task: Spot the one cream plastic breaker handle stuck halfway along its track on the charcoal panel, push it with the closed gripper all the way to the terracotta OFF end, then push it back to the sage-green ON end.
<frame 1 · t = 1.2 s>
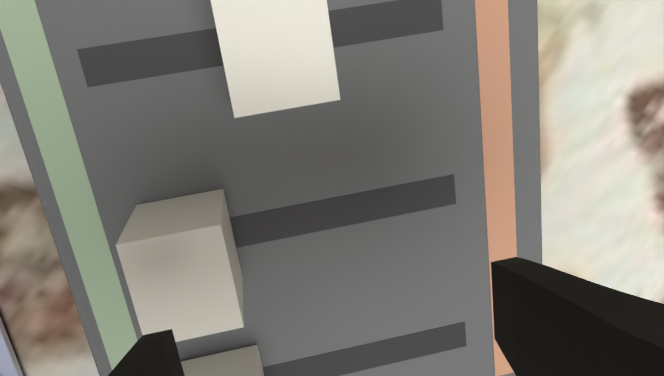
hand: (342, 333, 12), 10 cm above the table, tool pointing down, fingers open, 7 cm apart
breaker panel: (305, 188, 22), on the table
handle middle: (187, 262, 18), point 4 cm above the table, slide at 0.0 cm
tripped handle: (272, 41, 16), point 4 cm above the table, slide at 4.0 cm
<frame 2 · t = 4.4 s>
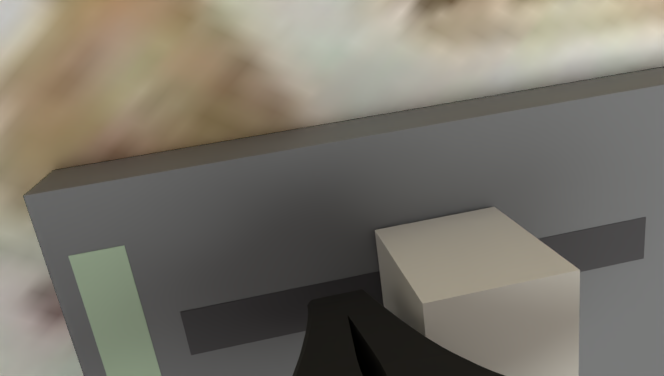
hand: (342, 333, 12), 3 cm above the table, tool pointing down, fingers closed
tripped handle: (468, 319, 12), point 4 cm above the table, slide at 4.3 cm, touching gripper
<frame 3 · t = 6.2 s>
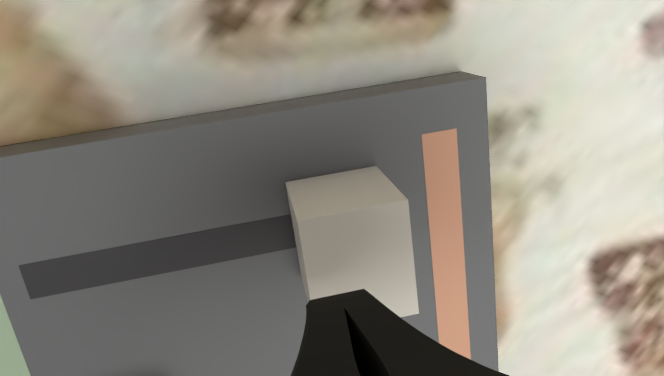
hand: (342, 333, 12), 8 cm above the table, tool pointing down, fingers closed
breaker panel: (261, 359, 22), on the table
tripped handle: (348, 244, 17), point 4 cm above the table, slide at 8.1 cm
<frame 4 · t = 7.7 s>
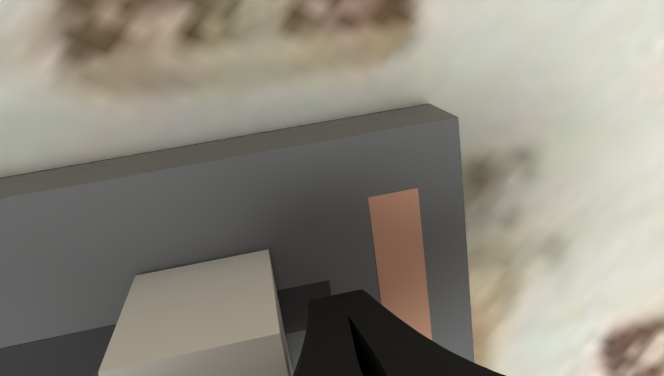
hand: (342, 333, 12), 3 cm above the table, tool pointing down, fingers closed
tripped handle: (216, 374, 11), point 4 cm above the table, slide at 7.2 cm, touching gripper
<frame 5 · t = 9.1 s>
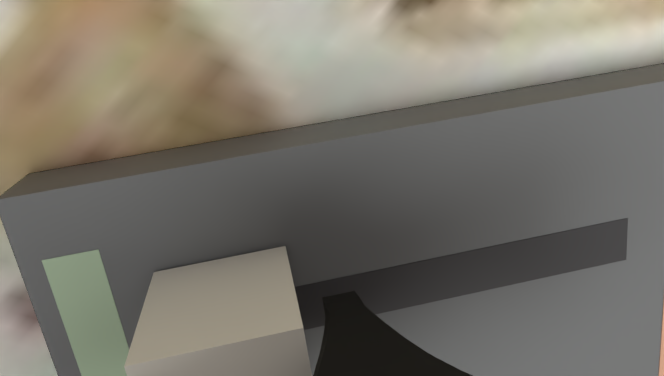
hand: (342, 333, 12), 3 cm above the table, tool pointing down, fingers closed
tripped handle: (235, 369, 11), point 4 cm above the table, slide at -0.3 cm, touching gripper
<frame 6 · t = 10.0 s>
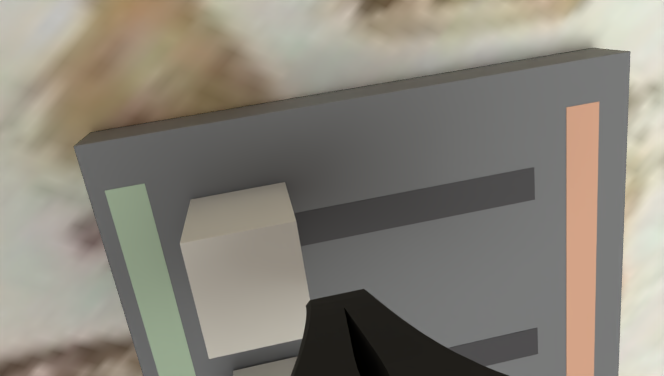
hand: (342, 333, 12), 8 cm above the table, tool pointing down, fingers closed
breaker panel: (386, 331, 22), on the table
tripped handle: (249, 263, 16), point 4 cm above the table, slide at -0.1 cm
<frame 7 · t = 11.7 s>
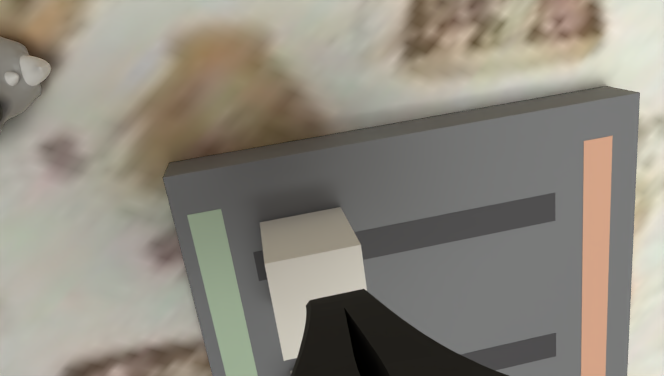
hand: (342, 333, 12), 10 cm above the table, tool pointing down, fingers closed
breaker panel: (419, 336, 25), on the table
tripped handle: (313, 278, 19), point 4 cm above the table, slide at -0.1 cm
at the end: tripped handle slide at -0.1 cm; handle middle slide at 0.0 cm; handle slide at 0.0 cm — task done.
